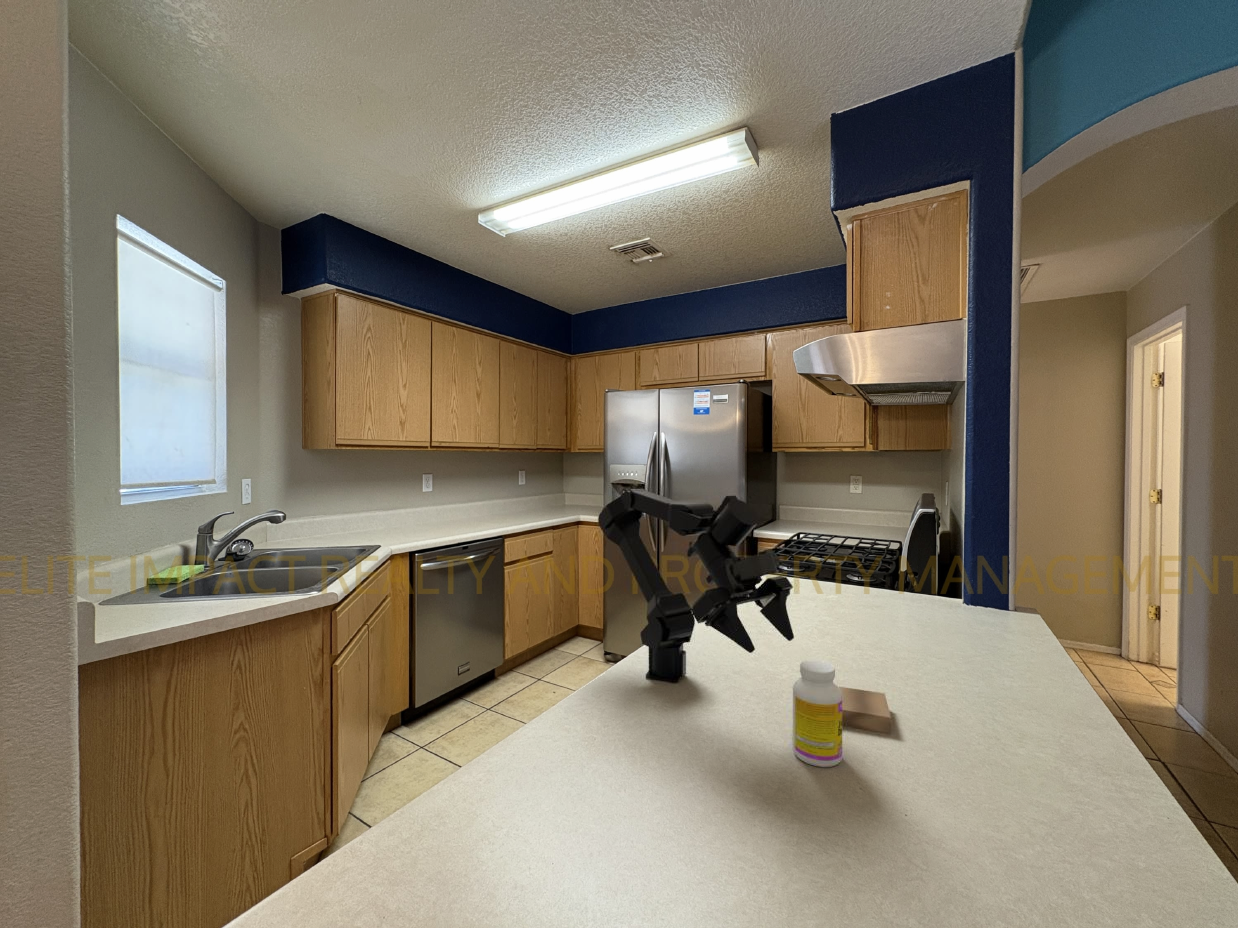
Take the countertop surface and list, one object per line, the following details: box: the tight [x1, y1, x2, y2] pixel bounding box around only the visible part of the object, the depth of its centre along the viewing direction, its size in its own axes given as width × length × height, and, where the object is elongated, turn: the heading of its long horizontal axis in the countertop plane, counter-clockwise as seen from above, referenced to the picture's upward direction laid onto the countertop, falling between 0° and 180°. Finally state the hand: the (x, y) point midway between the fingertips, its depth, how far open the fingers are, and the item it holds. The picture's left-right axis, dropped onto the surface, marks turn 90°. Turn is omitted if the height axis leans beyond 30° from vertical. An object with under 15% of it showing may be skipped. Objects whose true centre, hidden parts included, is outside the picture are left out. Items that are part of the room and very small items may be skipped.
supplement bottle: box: [792, 659, 843, 768], centre depth 75 cm, size 7×7×13 cm
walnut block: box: [838, 685, 892, 735], centre depth 86 cm, size 9×9×2 cm
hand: (772, 645), depth 81 cm, fingers open, 9 cm apart
